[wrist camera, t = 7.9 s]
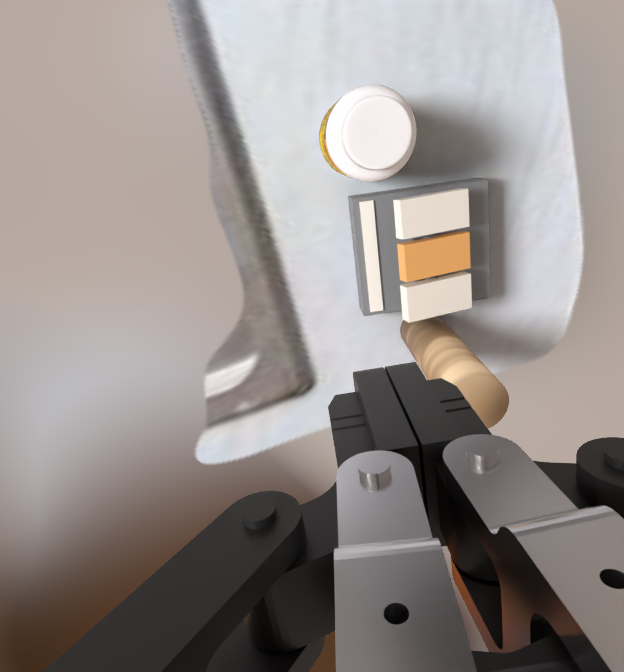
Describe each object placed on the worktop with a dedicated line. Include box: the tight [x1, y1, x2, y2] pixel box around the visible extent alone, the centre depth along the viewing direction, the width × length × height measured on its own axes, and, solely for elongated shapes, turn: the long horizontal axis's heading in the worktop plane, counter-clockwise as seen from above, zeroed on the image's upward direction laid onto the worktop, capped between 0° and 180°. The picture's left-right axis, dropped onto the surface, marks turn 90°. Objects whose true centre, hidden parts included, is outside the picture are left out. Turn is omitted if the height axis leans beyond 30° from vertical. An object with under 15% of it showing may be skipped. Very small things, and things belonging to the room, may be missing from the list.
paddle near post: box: [400, 271, 472, 323], centre depth 38 cm, size 3×5×1 cm, turn 98°
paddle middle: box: [397, 231, 471, 282], centre depth 37 cm, size 3×5×1 cm, turn 98°
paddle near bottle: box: [393, 188, 469, 239], centre depth 36 cm, size 3×5×2 cm, turn 97°
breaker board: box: [348, 178, 490, 316], centre depth 40 cm, size 9×10×4 cm
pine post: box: [400, 316, 509, 429], centre depth 38 cm, size 4×4×14 cm
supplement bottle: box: [319, 85, 417, 182], centre depth 34 cm, size 6×6×10 cm
